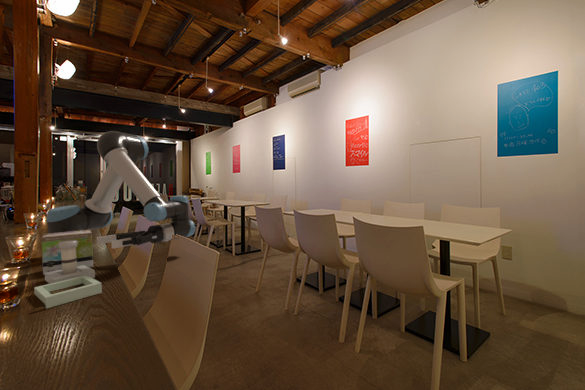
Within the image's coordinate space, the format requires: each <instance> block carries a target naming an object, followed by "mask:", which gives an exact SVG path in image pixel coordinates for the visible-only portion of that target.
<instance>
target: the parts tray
mask: <svg viewBox="0 0 585 390" xmlns="http://www.w3.org/2000/svg"><path fill="white" fill-rule="evenodd" d="M78 285H82V286H78ZM74 286H78V287H76V288H72V289H71V288H70V287H74ZM66 288H67V290H63V291H60V292H56V293H51V292H55V291H58V290H62V289H66ZM68 288H70V289H68ZM102 289H103V286H102V282H101V281H99V280H97V279H95V278H91V277H89V276H87V275H85V276H80V277H76V278H72V279H68V280H63V281H59V282H55V283H51V284H49V283H46V284H43V285H38V286H35V287H33V290H34V295H35V296H36V298H38V299H39V300H40V301H41V302H42V304H43V305H42V306H43V307H44V309H46V310H47V309H50V308H54V307H57V306H61V305H65V304H68V303H70V302H74V301H78V300H80V299H85V298H89V297H91V296H94V295H95V296H96V295H98V294H102V293H103V290H102Z"/></svg>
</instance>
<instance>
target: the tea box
mask: <svg viewBox="0 0 585 390" xmlns="http://www.w3.org/2000/svg"><path fill="white" fill-rule="evenodd" d="M66 240H77V244H78V246H77V247H76V257H77V266H81V265H85V266H87V267H89V268H92V267H94V253H93V252H94V251H93V232H92V230H82V231H70V232H59V233H48V232H47V233H43V234H42V236H41V259H42V263H41V265H42V275H44V276H45V273H48V272H52V271H57V270H62V263H61V249H59V244H58V242H60V241H66Z"/></svg>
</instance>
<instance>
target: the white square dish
mask: <svg viewBox="0 0 585 390" xmlns="http://www.w3.org/2000/svg"><path fill="white" fill-rule="evenodd" d="M77 271H79V272H76V273H71V274H67V275H62V276H61V274H62V270H57V271H52V272H48V273H45V275H44V281H45V282H47V284H51V283H55V282H59V281H63V280H68V279H72V278H76V277H80V276H85V275H87V276H89V277H91V278H93V279H95V278H96V271H95V269H93V268H92V267H87V266H85V265H81V266H77Z"/></svg>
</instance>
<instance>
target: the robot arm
mask: <svg viewBox="0 0 585 390" xmlns="http://www.w3.org/2000/svg"><path fill="white" fill-rule="evenodd" d="M96 147H97V152H98V154H99V156H100V157H101V158H102V160H103V162H105V163H106V164H107V168H106V170H105V171H104V173H103V174H102V177H101V179H100V180H99V182H98V185H97V187H96V188H95V190H94V193H93V195H92V197H91V198H90V199H86V200H85V202H84V203H83V206H82V207H80V206H79V205H78V204H77V205H76V204H73V205H65V206H58V207H53V208H51V209H49V210H47V212H46V220H45V221H46V224H47V234H48V233H59V232H70V231H82V230H90V231H94V230H101V229H103V228H106V227H108V226H109V225H110V224H111V222H112V221H113V218H114V215H113V213H114V212H113V208H112V206H111V205H112V203H113V201H114V200H115V197H116V195H117V193H118V192H119V190H120V188H121V186H122V184H123V182H124V183H125V184H126V186H127V187H128V188H129V190H131V192H132V193H133V195H134V196H135V197H136V198H137V200H138V201H139V202H140V203H141V205H142V206H143V207H144V208H143V215H144V218H146V220H147V221H150V222H160V221H161V222H162V221H163V220H168V219H170V220H171V222H168V223H160V224H156V225H150V226H149V227H148V228H147V230H139V231H129V232H120V233H118V232H117V233H114V234H110V235H104V236H99V237H98V236H96V244H97V245H102V244H111V249H112V250H113V249H117V248H124V247H130V246H132V245H133V246H135V245H136V246H140V245H143V244H146V243H151V244H157V243H161V242H166V243H168V242H169V241H172V240H177V239H179V238H174V239H172V235H176V234H178V235H181V236H184V237H185V238H187V237H190V236H193V235H194V234H195V232H196V225H195V222H194V221H193V220H191V219H189V217H190V214H189V213H190V210H189V200H188V196H187V195H172V196H170V198H169V200H167V201H165V200H164V198H162V196H161V195H160V193H159V192H158V191H157V190H156V189H155V188H154V186H153V185H152V184H151V181H149V180H148V178H147V177H146V176H145V175H144V174H143V173H142V171H141V170H140V169H139V168H138V167H137V163H138V162H139V161H142V160H144V159H146V157H147V156H148V155H149V154H148V153H149V146H148V143H147V141H146V140H145V139H144V138H143V137H142V136H140V135H137V134H134V133H133V134H130V133H126V132H121V131H117V130H110V131H106V132H103V133H102V134H101V135H100V136H99V137H98V139H97V142H96ZM171 239H172V240H171Z"/></svg>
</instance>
